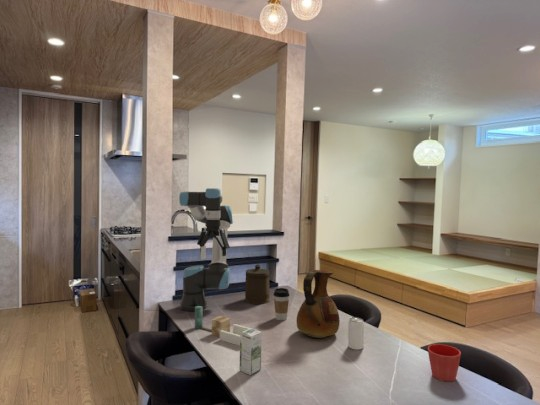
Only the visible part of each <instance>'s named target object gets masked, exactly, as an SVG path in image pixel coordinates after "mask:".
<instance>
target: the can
mask: <svg viewBox="0 0 540 405" xmlns="http://www.w3.org/2000/svg"><path fill="white" fill-rule="evenodd" d="M347 328H348V332H347V333H348V336H347V338H348V339H347V340H348V341H347V345H348V348H350V350H354V351H361V350H363V349H364V347H365V346H364V344H365V323H364V319H363V318H361V317H357V316H352V317H349V320H348V327H347Z"/></svg>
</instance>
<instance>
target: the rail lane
mask: <svg viewBox="0 0 540 405" xmlns="http://www.w3.org/2000/svg"><path fill="white" fill-rule="evenodd" d="M250 328H251V329H253V328H252V327H247V326H243V325H240V324H236V323H233V324H232V332H231V331H230V332H227V331H223V330H221V331H220V337H219V340H220V341H224V342H226V343H229V344H233V345H236V346H239V347H240V333H241V332H243V331H246V330H248V329H250ZM254 329H255V328H254ZM255 330H258V331H260V330H259V329H255Z"/></svg>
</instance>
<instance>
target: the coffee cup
mask: <svg viewBox="0 0 540 405" xmlns="http://www.w3.org/2000/svg"><path fill="white" fill-rule="evenodd" d="M273 297H274V299H273V302H274V312H275V313H274V314H275V320H277V321H285V320H287V319H288V312H289V311H288V310H289V301H290V299H289V298H290V292H289V289H287V288H286V287H285V288H283V287H280V288H279V287H278V288H276V289H274V292H273Z"/></svg>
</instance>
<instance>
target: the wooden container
mask: <svg viewBox="0 0 540 405" xmlns="http://www.w3.org/2000/svg"><path fill="white" fill-rule="evenodd" d="M261 267H262V266H261V265H260V264H256V265H255V266H254V268H248V269H246V270H245V283H244V284H245V286H244V288H245V290H244V292H245V294H244V296H245V298H244V301H245V302H246V303H249V304H253V305H254V304H255V305H256V304H257V305H261V304H266V303H269V302H270V294H271V293H270V291H271V290H270V270H269V269H267V268H261Z"/></svg>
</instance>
